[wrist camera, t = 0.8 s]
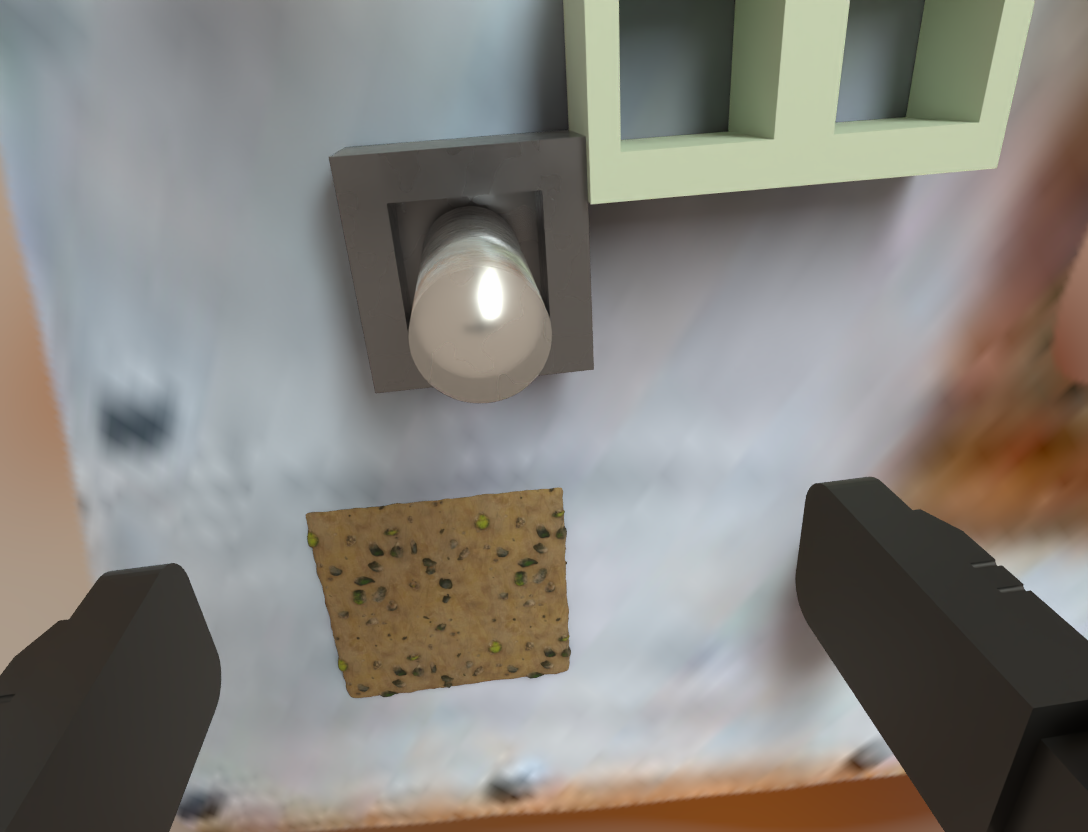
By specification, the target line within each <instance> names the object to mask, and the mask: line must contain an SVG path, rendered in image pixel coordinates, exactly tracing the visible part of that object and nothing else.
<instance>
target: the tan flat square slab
mask: <svg viewBox="0 0 1088 832" xmlns="http://www.w3.org/2000/svg"><path fill="white" fill-rule="evenodd" d="M562 497H563V490H562V488H553V489H539V490H525V491H515V492H509V493H500V494H482V495H476V496H472V497H464V498H455V499H443V500H438V501H422V502H414V503H407V504H400V503H396V504H391V505H387V506H381V507H368V508H353V509H346V510H337V511H329V512H311V513H307V514H306V519H307V524H308V529H309V530H308V536H307V538H308V544H309V546H310V547H312V548H313V555H314V559H315V562H316V565H317V574H318V577H319V579H320V581H321V583H322V586H323V592H324V595H325V604H326V607H327V609H328V612H329V615H330V619H331V628H332V631H333V636H334V639H335V644H336V647H337V650H338V654H339V659H338V666H339V669H340V670H341V671H343V675H344V679H345V681H346V688H347V691H348V693H349V695H350V696H351V697H353V698H363V697H371V696H377V695H380V696H383V697H389V696H392V695H394V694H398V693H411V692H414V691H418V690H424V689H435V688H439V687H441V688H444V687H448V688H450V687H451V686H457V685H463V684H473V683H479V682H484V681H491V680H500V679H514V678H519V677H525V676H527V677H529V678H537V677H539V676H542V675H544V674H557V673H560V672H564V671H567V670H568V669H569V658H570V654H571V650H570V647H569V632H568V619H569V618H568V614H569V608H568V603H567V596H566V594H567V591H566V579H565V578H566V564H567V562H566V561H565V550H566V547H565V542H566V535H567V531H566V528H565V526H564V512H565V511H564V510H563V499H562Z"/></svg>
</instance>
